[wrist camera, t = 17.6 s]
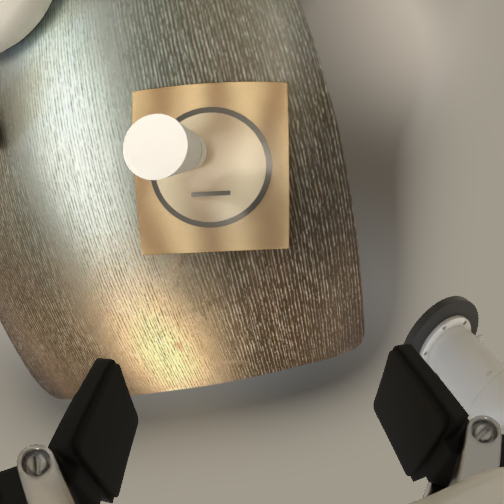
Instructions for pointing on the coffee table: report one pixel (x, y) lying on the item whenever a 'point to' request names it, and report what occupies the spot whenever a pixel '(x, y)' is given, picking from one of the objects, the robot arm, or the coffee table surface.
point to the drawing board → (220, 170)
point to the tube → (162, 148)
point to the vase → (19, 19)
